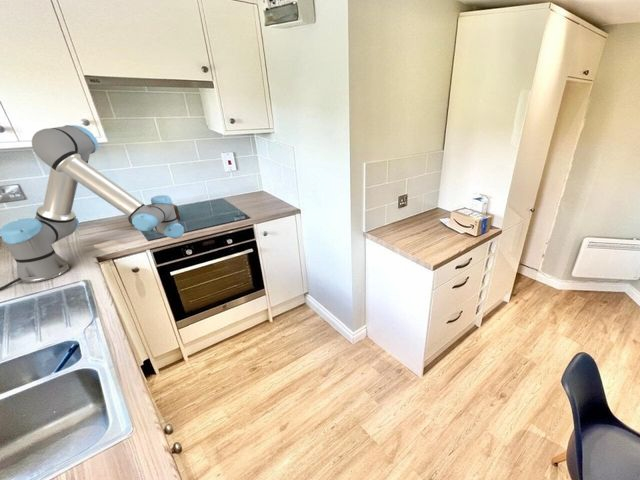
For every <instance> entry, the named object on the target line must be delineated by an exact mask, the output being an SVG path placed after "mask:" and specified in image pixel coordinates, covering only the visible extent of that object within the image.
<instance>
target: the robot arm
mask: <svg viewBox="0 0 640 480" xmlns="http://www.w3.org/2000/svg"><path fill="white" fill-rule="evenodd" d="M31 148H32V149H33V151H34V152H35V154H36V156H38V158H39V159H40V160H41V161H42V162H43V163H45V164H46V165H47V166H48V167H50V170H49V176H48V181H47V185H46V190H45V195H44V198H43V199H44V200H43V205H40V206H38V207H37V208H36V212H35V217H34V218H33V217H28V218H21V219H17V220H13V221H10V222H8V223H6V224H4V225H3V226H2V227H1V228H0V237H1V240H2V242H4V244H5V246H6V248H7V249H8V251H9V253H10V254H11V256H12V257H13V259H14V261H15V262H16V275H17V278H15V279H14V280H12V281H10V282H7V284H4V285H2V286H0V291H2V290H4V289H7V288H8V287H10V286H11V285H13V284H16V283H17V282H21V283H25V284H26V283H27V284H30V283H31V284H32V283H39V282H44V281H48V280H51V279H54V278H58V277H60V276H61V275H64V274H65V273H66V272H68V271H69V270H70V265H69V264H68V262H67V261H66V260H64V259H63V258H62V257H61V256H60V255H59V254H57V252H56V251H55V249H54V247H53V244H55V243H56V242H59V241H60V240H62V239H64V238H66V237H68V236H70V235H72V234H73V233H74V232H76V231H77V230H78V227H79V226H80V222H79V219H78V218H77V215H76V212H75V211H74V210H73V206H74V202H75V196H76V193H77V189H78V186H79V185H78V184H80V185H82V186H83V187H84V188H86V189H88V190H89V191H91V192H92V193H93V194H95V196H98V197H99V198H101V199H102V200H103V201H105V202H107V203H108V204H109V205H110V206H113V207H114V208H115V209H117V210H119V211H120V212H121V213H123V214H124V215H126V216H127V220H128V223H129V224H130V225H132V224H133V227H134V229H136V230H138V231H141V232H148V231H151V230H152V231H154V232H155V233H159V234H160V235H163V236H165V237H167V238H170V239H180V238H181V237H182V236H183V235H184V234H185V227H184V226H183V225H182V224H181V223H180V222H179V220H177V217H176V214H175V210H174V206H173V204H174V203H173V200H172V198H171V197H170V196H169V195H166V194H165V195H164V194H163V195H162V194H161V195H155V196H153V197H151V198H150V204H152V206H150V207H148V206H146V205H147V204H145V203H143V202H142V201H140V200H139V199H138V198H136V197H135V196H133V194H131V193H129V192H128V191H126V190H125V189H124V188H122V187H121V186H120V185H118V184H117V183H115V182H114V181H113V180H111V179H109V178H108V177H107V176H106V175H104V174H103V173H101V172H100V171H98V169H96V168H94V167H93V166H92V165H90V164H89V160H90V155H92V154H95V153H96V151H97V150H98V148H99V142H98V139H97V138H96V137H95V135H94V133H92V132H91V131H90V130H89V129H87V128H85V127H83V126H81V125H75V124H72V125H71V124H70V125H69V124H65V125H63V126H55V127H48V128H47V127H46V128H43V129H40V130H38V131H36V132H35V133H34V134H33V136H32V138H31Z"/></svg>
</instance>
